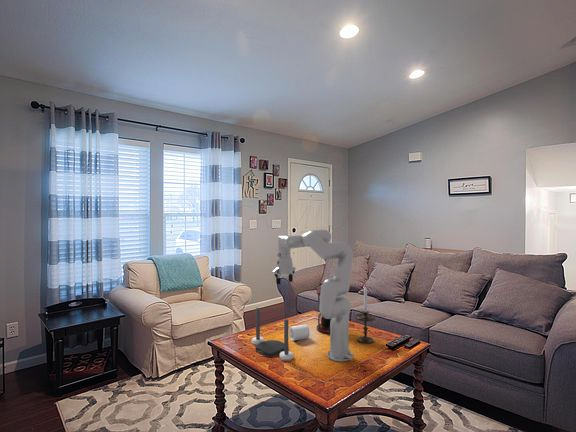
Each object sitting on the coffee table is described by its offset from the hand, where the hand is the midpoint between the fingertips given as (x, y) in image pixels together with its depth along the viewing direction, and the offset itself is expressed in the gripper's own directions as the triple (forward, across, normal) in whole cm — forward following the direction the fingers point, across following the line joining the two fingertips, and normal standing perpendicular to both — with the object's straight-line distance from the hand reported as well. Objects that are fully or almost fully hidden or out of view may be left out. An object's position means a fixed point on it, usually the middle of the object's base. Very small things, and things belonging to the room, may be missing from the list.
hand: (284, 282), depth 211 cm
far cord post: (+31, -21, -2) cm, 38 cm away
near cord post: (+31, -21, -28) cm, 47 cm away
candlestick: (+32, +28, -40) cm, 58 cm away
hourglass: (+32, +25, -14) cm, 42 cm away
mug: (+32, +1, -11) cm, 34 cm away
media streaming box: (+32, -21, -14) cm, 41 cm away
